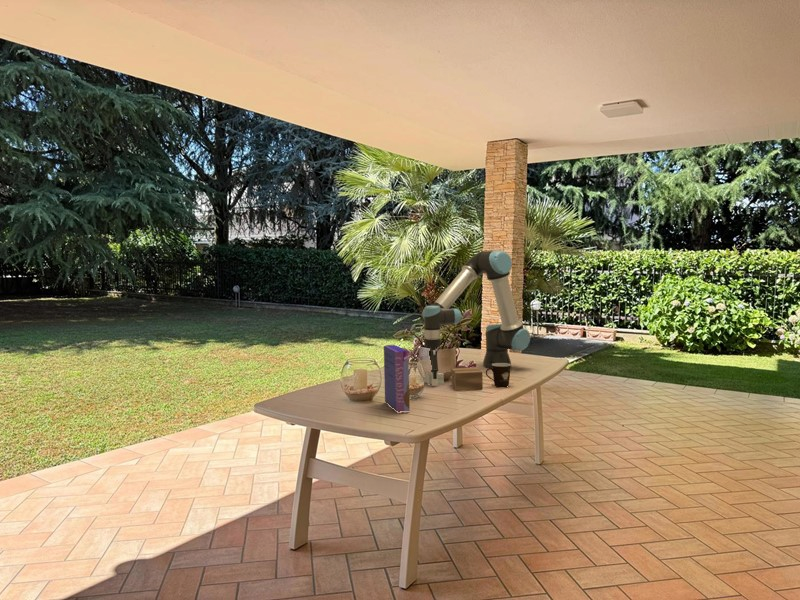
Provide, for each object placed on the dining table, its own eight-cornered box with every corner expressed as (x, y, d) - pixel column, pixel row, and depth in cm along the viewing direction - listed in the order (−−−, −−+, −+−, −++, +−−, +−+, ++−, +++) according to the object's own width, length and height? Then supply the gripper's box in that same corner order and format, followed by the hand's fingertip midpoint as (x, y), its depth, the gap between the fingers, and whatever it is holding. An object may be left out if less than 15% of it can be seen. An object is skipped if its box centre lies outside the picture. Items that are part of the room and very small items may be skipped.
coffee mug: (510, 384, 260) (509, 363, 259) (512, 388, 251) (511, 366, 251) (484, 384, 261) (484, 363, 260) (485, 388, 252) (485, 366, 252)
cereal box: (409, 412, 214) (408, 350, 213) (397, 413, 213) (396, 351, 211) (396, 402, 231) (394, 344, 229) (385, 403, 229) (383, 345, 228)
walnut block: (451, 385, 260) (451, 368, 260) (477, 384, 261) (476, 367, 261) (456, 390, 248) (455, 373, 248) (482, 389, 249) (482, 372, 249)
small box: (438, 381, 271) (438, 370, 270) (444, 384, 263) (444, 373, 263) (423, 382, 269) (423, 371, 268) (428, 385, 261) (428, 374, 261)
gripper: (421, 335, 277) (422, 377, 278) (427, 342, 252) (428, 388, 253) (436, 334, 277) (437, 377, 278) (444, 341, 252) (444, 388, 254)
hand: (432, 382), depth 266 cm, fingers open, 13 cm apart
